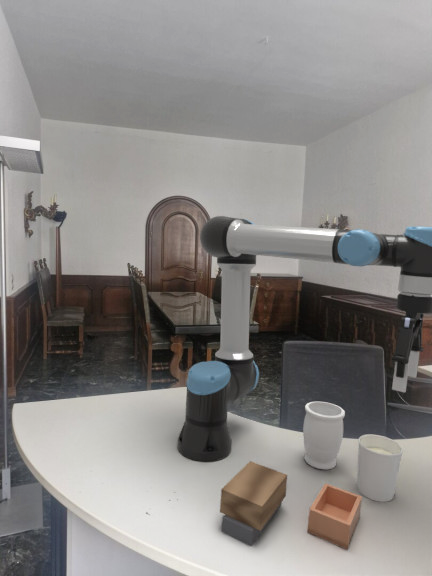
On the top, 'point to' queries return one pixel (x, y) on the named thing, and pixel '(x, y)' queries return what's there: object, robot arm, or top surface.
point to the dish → (334, 515)
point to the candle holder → (378, 467)
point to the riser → (241, 529)
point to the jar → (322, 434)
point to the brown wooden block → (253, 495)
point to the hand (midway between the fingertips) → (404, 383)
